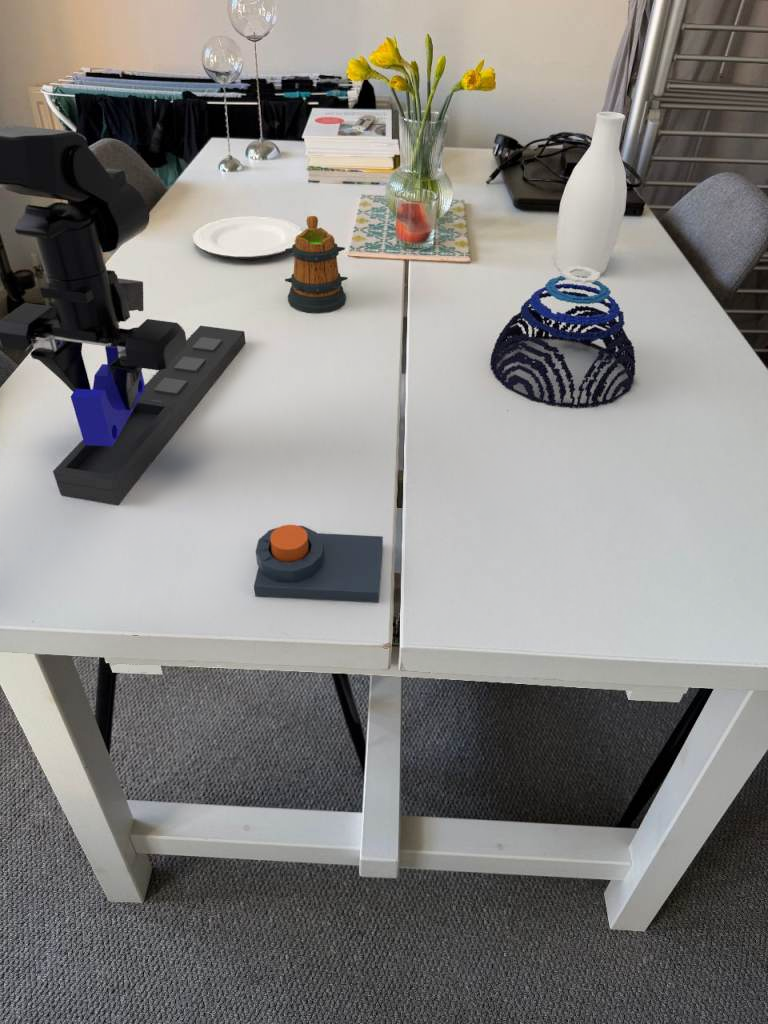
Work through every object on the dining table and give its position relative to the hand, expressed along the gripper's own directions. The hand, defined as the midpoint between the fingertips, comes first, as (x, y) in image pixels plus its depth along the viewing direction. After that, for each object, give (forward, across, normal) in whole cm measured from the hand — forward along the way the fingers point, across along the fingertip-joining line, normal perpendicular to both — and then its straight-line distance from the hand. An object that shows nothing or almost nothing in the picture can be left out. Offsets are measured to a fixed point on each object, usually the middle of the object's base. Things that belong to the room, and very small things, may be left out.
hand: (109, 405), depth 82 cm
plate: (+7, +10, -69) cm, 70 cm away
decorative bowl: (+8, -50, -36) cm, 62 cm away
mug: (+7, -9, -50) cm, 51 cm away
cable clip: (+1, 0, 0) cm, 1 cm away
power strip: (+8, 0, -12) cm, 14 cm away
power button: (+5, -25, +13) cm, 28 cm away
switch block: (+8, -28, +12) cm, 31 cm away
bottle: (+7, -52, -75) cm, 91 cm away
